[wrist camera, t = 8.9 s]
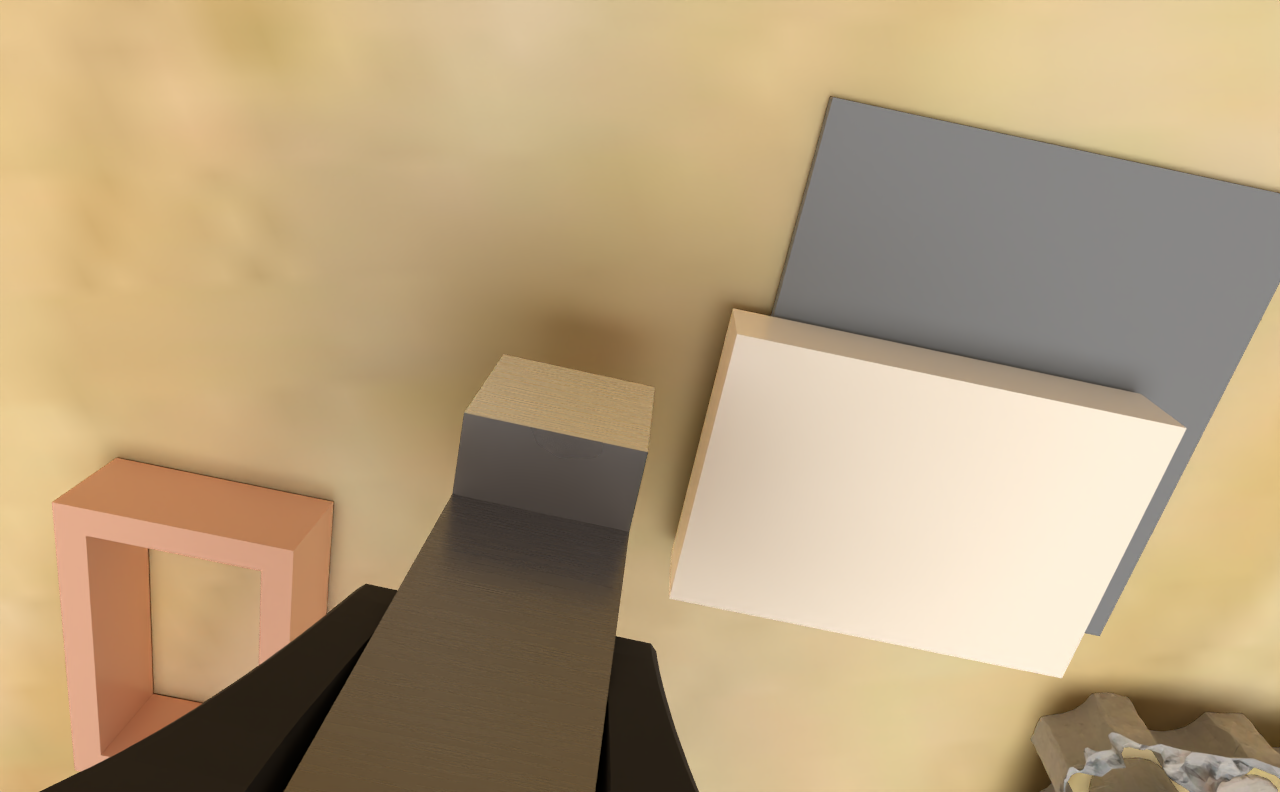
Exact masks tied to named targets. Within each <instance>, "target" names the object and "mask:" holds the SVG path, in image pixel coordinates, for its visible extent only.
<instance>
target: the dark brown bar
mask: <svg viewBox="0 0 1280 792" xmlns="http://www.w3.org/2000/svg"><path fill="white" fill-rule="evenodd" d="M654 392H655V387H653V386H648V385H643V384H639V383H634V382H630V381H625V380H620V379H616V378H611V377H606V376H602V375H597V374H593V373H588V372H583V371H579V370H574V369H570V368H565V367H560V366H556V365H551V364H547V363H542V362H537V361H533V360H528V359H524V358H519V357H514V356H510V355H505V354H503V355H502V357H501V358H500V360H499V361H498V363H497V364H496V366H495V367H494V369H493V370H492V372H491V373H490V375H489V376H488V378H487V379H486V381H485V382H484V384H483V385H482V387H481V388H480V390H479V391H478V393H477V394H476V396H475V397H474V399H473V400H472V402H471V403H470V405H469V406H468V408H467V409H466V411H465V412H464V417H463V424H462V431H461V438H460V445H459V452H458V459H457V466H456V473H455V480H454V487H453V494H452V496H451V498H450V499H449V501H448V503H447V505H446V506H445V508H444V510H443V512H442V514H441V515H440V517H439V519H438V521H437V522H436V524H435V526H434V528H433V529H432V531H431V533H430V535H429V536H428V538H427V540H426V542H425V544H424V545H423V547H422V549H421V551H420V552H419V554H418V556H417V558H416V559H415V561H414V563H413V565H412V566H411V568H410V570H409V572H408V574H407V575H406V577H405V579H404V581H403V582H402V584H401V586H400V588H399V589H398V591H397V593H396V595H395V596H394V598H393V600H392V602H391V604H390V605H389V607H388V609H387V611H386V612H385V614H384V616H383V618H382V619H381V621H380V623H379V625H378V626H377V628H376V630H375V632H374V634H373V635H372V637H371V639H370V641H369V642H368V644H367V646H366V648H365V649H364V651H363V653H362V655H361V656H360V658H359V660H358V662H357V664H356V665H355V667H354V669H353V671H352V672H351V674H350V676H349V678H348V679H347V681H346V683H345V685H344V686H343V688H342V690H341V692H340V694H339V695H338V697H337V699H336V701H335V702H334V704H333V706H332V708H331V709H330V711H329V713H328V715H327V716H326V718H325V720H324V722H323V724H322V725H321V727H320V729H319V731H318V732H317V734H316V736H315V738H314V739H313V741H312V743H311V745H310V746H309V748H308V750H307V752H306V754H305V755H304V757H303V759H302V761H301V762H300V764H299V766H298V768H297V769H296V771H295V773H294V775H293V776H292V778H291V780H290V782H289V784H288V785H287V787H286V789H285V791H284V792H595V788H596V781H597V773H598V765H599V758H600V750H601V743H602V735H603V727H604V720H605V712H606V704H607V697H608V689H609V682H610V674H611V666H612V659H613V651H614V644H615V636H616V628H617V621H618V613H619V605H620V598H621V590H622V583H623V575H624V567H625V560H626V552H627V544H628V537H629V530H630V526H631V522H632V518H633V513H634V509H635V505H636V501H637V497H638V492H639V488H640V484H641V480H642V475H643V471H644V467H645V463H646V458H647V454H648V448H649V438H650V429H651V420H652V411H653V402H654Z"/></svg>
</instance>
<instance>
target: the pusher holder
mask: <svg viewBox="0 0 1280 792" xmlns="http://www.w3.org/2000/svg"><path fill="white" fill-rule="evenodd" d="M52 508H53V520H54V532H55V543H56V555H57V567H58V578H59V590H60V602H61V613H62V625H63V637H64V649H65V660H66V672H67V684H68V695H69V707H70V719H71V730H72V742H73V754H74V765H75V770H76V771H83V770H85V769H87V768H90V767H92V766H94V765H96V764H98V763H100V762H101V761H103V760H105V759H107V758H109V757H111V756H113V755H115V754H117V753H119V752H121V751H123V750H125V749H126V748H128V747H130V746H132V745H134V744H135V743H137V742H139V741H141V740H142V739H144V738H146V737H148V736H150V735H151V734H153V733H155V732H157V731H158V730H160V729H162V728H163V727H165V726H167V725H169V724H170V723H172V722H174V721H175V720H177V719H178V718H180V717H182V716H183V715H185V714H187V713H188V712H190V711H192V710H193V709H195V708H196V707H198V706H199V705H201V704H202V703H198V702H193V701H187V700H182V699H177V698H172V697H167V696H162V695H157V694H153V675H152V647H151V619H150V590H149V562H148V548H149V549H154V550H159V551H164V552H169V553H174V554H179V555H184V556H189V557H194V558H199V559H204V560H209V561H214V562H219V563H224V564H229V565H234V566H239V567H244V568H249V569H254V570H259V571H261V601H260V638H259V665H260V664H262V663H263V662H264V661H266V660H267V659H268V658H270V657H271V656H272V655H274V654H275V653H276V652H278V651H279V650H281V649H282V648H283V647H285V646H286V645H287V644H289V643H290V642H291V641H293V640H294V639H295V638H297V637H298V636H299V635H301V634H302V633H303V632H304V631H306V630H307V629H308V628H310V627H311V626H312V625H313V624H315V623H316V622H317V621H319V620H320V619H321V618H322V617H324V616H325V615H326V611H327V595H328V580H329V564H330V549H331V533H332V518H333V502H332V501H327V500H322V499H317V498H312V497H307V496H302V495H297V494H292V493H287V492H282V491H277V490H273V489H268V488H263V487H258V486H253V485H248V484H243V483H238V482H233V481H228V480H223V479H218V478H214V477H209V476H204V475H199V474H194V473H189V472H184V471H179V470H174V469H169V468H164V467H159V466H155V465H150V464H145V463H140V462H135V461H130V460H125V459H120V458H115V459H114V460H112V461H111V462H110V463H108V464H107V465H105V466H104V467H102V468H101V469H99V470H98V471H97V472H95V473H94V474H92V475H91V476H89V477H88V478H86V479H85V480H83V481H82V482H81V483H79V484H78V485H76V486H75V487H73V488H72V489H70V490H69V491H68V492H66V493H65V494H63V495H62V496H60V497H59V498H57V499H56V500H55V501H53V502H52Z"/></svg>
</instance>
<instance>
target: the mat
mask: <svg viewBox="0 0 1280 792" xmlns="http://www.w3.org/2000/svg"><path fill="white" fill-rule="evenodd" d="M1279 283H1280V193H1276V192H1271V191H1267V190H1262V189H1257V188H1253V187H1248V186H1243V185H1239V184H1234V183H1230V182H1225V181H1220V180H1216V179H1211V178H1206V177H1202V176H1197V175H1192V174H1188V173H1183V172H1178V171H1174V170H1169V169H1165V168H1160V167H1155V166H1151V165H1146V164H1141V163H1137V162H1132V161H1127V160H1123V159H1118V158H1113V157H1109V156H1104V155H1100V154H1095V153H1090V152H1086V151H1081V150H1076V149H1072V148H1067V147H1062V146H1058V145H1053V144H1048V143H1044V142H1039V141H1035V140H1030V139H1025V138H1021V137H1016V136H1011V135H1007V134H1002V133H997V132H993V131H988V130H983V129H979V128H974V127H970V126H965V125H960V124H956V123H951V122H946V121H942V120H937V119H932V118H928V117H923V116H919V115H914V114H909V113H905V112H900V111H895V110H891V109H886V108H881V107H877V106H872V105H867V104H863V103H858V102H854V101H849V100H844V99H840V98H835V97H830V99H829V103H828V107H827V111H826V114H825V118H824V122H823V125H822V129H821V133H820V136H819V140H818V144H817V147H816V151H815V155H814V159H813V162H812V166H811V170H810V173H809V177H808V181H807V184H806V188H805V192H804V195H803V199H802V203H801V207H800V210H799V214H798V218H797V221H796V225H795V229H794V232H793V236H792V240H791V244H790V247H789V251H788V255H787V258H786V262H785V266H784V269H783V273H782V277H781V280H780V284H779V288H778V292H777V295H776V299H775V303H774V306H773V310H772V314H771V316H772V317H777V318H782V319H786V320H791V321H796V322H801V323H805V324H810V325H815V326H820V327H825V328H829V329H834V330H839V331H844V332H848V333H853V334H858V335H863V336H867V337H872V338H877V339H882V340H886V341H891V342H896V343H901V344H905V345H910V346H915V347H920V348H925V349H929V350H934V351H939V352H944V353H948V354H953V355H958V356H963V357H967V358H972V359H977V360H982V361H986V362H991V363H996V364H1001V365H1006V366H1010V367H1015V368H1020V369H1025V370H1029V371H1034V372H1039V373H1044V374H1048V375H1053V376H1058V377H1063V378H1067V379H1072V380H1077V381H1082V382H1086V383H1091V384H1096V385H1101V386H1106V387H1110V388H1115V389H1120V390H1125V391H1129V392H1134V393H1139V394H1142V395H1143V396H1144V397H1146V398H1147V399H1148V400H1150V401H1151V402H1152V403H1154V404H1155V405H1156V406H1158V407H1159V408H1160V409H1162V410H1163V411H1164V412H1166V413H1167V414H1168V415H1170V416H1171V417H1172V418H1174V419H1175V420H1176V421H1178V422H1179V423H1180V424H1182V425H1183V426H1184V427H1186V428H1187V429H1186V431H1185V433H1184V435H1183V437H1182V439H1181V441H1180V443H1179V445H1178V447H1177V449H1176V451H1175V453H1174V455H1173V457H1172V459H1171V461H1170V463H1169V465H1168V467H1167V469H1166V471H1165V473H1164V475H1163V477H1162V479H1161V481H1160V483H1159V485H1158V487H1157V489H1156V491H1155V493H1154V495H1153V497H1152V499H1151V501H1150V503H1149V505H1148V507H1147V509H1146V511H1145V513H1144V515H1143V517H1142V519H1141V521H1140V523H1139V525H1138V527H1137V529H1136V531H1135V533H1134V535H1133V537H1132V539H1131V541H1130V543H1129V545H1128V547H1127V549H1126V551H1125V553H1124V555H1123V557H1122V559H1121V561H1120V563H1119V565H1118V567H1117V569H1116V571H1115V573H1114V575H1113V577H1112V579H1111V581H1110V583H1109V585H1108V587H1107V589H1106V591H1105V593H1104V595H1103V597H1102V599H1101V601H1100V603H1099V605H1098V607H1097V609H1096V611H1095V613H1094V615H1093V617H1092V619H1091V621H1090V623H1089V625H1088V627H1087V629H1086V631H1085V633H1087V634H1092V635H1097V636H1100V635H1101V633H1102V631H1103V629H1104V627H1105V625H1106V623H1107V621H1108V619H1109V617H1110V615H1111V613H1112V611H1113V609H1114V607H1115V605H1116V603H1117V601H1118V599H1119V597H1120V595H1121V593H1122V591H1123V589H1124V587H1125V585H1126V583H1127V582H1128V580H1129V578H1130V576H1131V574H1132V572H1133V570H1134V568H1135V566H1136V564H1137V562H1138V560H1139V558H1140V556H1141V554H1142V552H1143V550H1144V548H1145V546H1146V544H1147V542H1148V540H1149V538H1150V536H1151V534H1152V532H1153V530H1154V528H1155V527H1156V525H1157V523H1158V521H1159V519H1160V517H1161V515H1162V513H1163V511H1164V509H1165V507H1166V505H1167V503H1168V501H1169V499H1170V497H1171V495H1172V493H1173V491H1174V489H1175V487H1176V485H1177V483H1178V481H1179V479H1180V477H1181V475H1182V473H1183V472H1184V470H1185V468H1186V466H1187V464H1188V462H1189V460H1190V458H1191V456H1192V454H1193V452H1194V450H1195V448H1196V446H1197V444H1198V442H1199V440H1200V438H1201V436H1202V434H1203V432H1204V430H1205V428H1206V426H1207V424H1208V422H1209V420H1210V418H1211V417H1212V415H1213V413H1214V411H1215V409H1216V407H1217V405H1218V403H1219V401H1220V399H1221V397H1222V395H1223V393H1224V391H1225V389H1226V387H1227V385H1228V383H1229V381H1230V379H1231V377H1232V375H1233V373H1234V371H1235V369H1236V367H1237V365H1238V363H1239V362H1240V360H1241V358H1242V356H1243V354H1244V352H1245V350H1246V348H1247V346H1248V344H1249V342H1250V340H1251V338H1252V336H1253V334H1254V332H1255V330H1256V328H1257V326H1258V324H1259V322H1260V320H1261V318H1262V316H1263V314H1264V312H1265V310H1266V308H1267V307H1268V305H1269V303H1270V301H1271V299H1272V297H1273V295H1274V293H1275V291H1276V289H1277V287H1278V285H1279Z"/></svg>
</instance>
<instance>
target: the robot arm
mask: <svg viewBox="0 0 1280 792" xmlns="http://www.w3.org/2000/svg"><path fill="white" fill-rule="evenodd" d="M396 593H397V590H393V589H388V588H383V587H378V586H374V585H369V584H365V585H363V586H362V587H360V588H358V589H357V590H356V591H354V592H353V593H352V594H351V595H349V596H348V597H347V598H346V599H345V600H343V601H342V602H341V603H340V604H338V605H337V606H336V607H335V608H333V609H332V610H331V611H330V612H329V613H327V614H326V615H325V616H324V617H322V618H321V619H320V620H319V621H317V622H316V623H315V624H313V625H312V626H311V627H310V628H308V629H307V630H306V631H304V632H303V633H302V634H301V635H299V636H298V637H297V638H295V639H294V640H293V641H291V642H290V643H289V644H287V645H286V646H285V647H283V648H282V649H281V650H279V651H278V652H276V653H275V654H274V655H272V656H271V657H270V658H268V659H267V660H266V661H264V662H263V663H262V664H260V665H259V666H257V667H256V668H255V669H253V670H252V671H250V672H249V673H248V674H246V675H245V676H243V677H242V678H240V679H239V680H237V681H236V682H234V683H233V684H231V685H230V686H228V687H227V688H225V689H224V690H222V691H221V692H219V693H218V694H216V695H215V696H213V697H212V698H210V699H209V700H207V701H206V702H204V703H202V704H201V705H199V706H198V707H196V708H195V709H193V710H192V711H190V712H188V713H187V714H185V715H183V716H182V717H180V718H178V719H177V720H175V721H174V722H172V723H170V724H169V725H167V726H165V727H163V728H162V729H160V730H158V731H157V732H155V733H153V734H151V735H150V736H148V737H146V738H144V739H142V740H141V741H139V742H137V743H135V744H134V745H132V746H130V747H128V748H126V749H125V750H123V751H121V752H119V753H117V754H115V755H113V756H111V757H109V758H107V759H105V760H103V761H101V762H100V763H98V764H96V765H94V766H92V767H90V768H87V769H85V770H83V771H81V772H79V773H77V774H75V775H73V776H71V777H69V778H67V779H65V780H63V781H61V782H59V783H57V784H54V785H52V786H50V787H48V788H46V789H44V790H42V791H40V792H284V791H285V789H286V787H287V785H288V784H289V782H290V780H291V778H292V776H293V775H294V773H295V771H296V769H297V768H298V766H299V764H300V762H301V761H302V759H303V757H304V755H305V754H306V752H307V750H308V748H309V746H310V745H311V743H312V741H313V739H314V738H315V736H316V734H317V732H318V731H319V729H320V727H321V725H322V724H323V722H324V720H325V718H326V716H327V715H328V713H329V711H330V709H331V708H332V706H333V704H334V702H335V701H336V699H337V697H338V695H339V694H340V692H341V690H342V688H343V686H344V685H345V683H346V681H347V679H348V678H349V676H350V674H351V672H352V671H353V669H354V667H355V665H356V664H357V662H358V660H359V658H360V656H361V655H362V653H363V651H364V649H365V648H366V646H367V644H368V642H369V641H370V639H371V637H372V635H373V634H374V632H375V630H376V628H377V626H378V625H379V623H380V621H381V619H382V618H383V616H384V614H385V612H386V611H387V609H388V607H389V605H390V604H391V602H392V600H393V598H394V596H395V595H396ZM595 792H699V791H698V788H697V786H696V784H695V781H694V778H693V776H692V773H691V771H690V768H689V766H688V763H687V760H686V757H685V754H684V752H683V749H682V746H681V743H680V740H679V738H678V735H677V732H676V729H675V726H674V723H673V720H672V716H671V713H670V710H669V706H668V703H667V699H666V696H665V692H664V688H663V684H662V680H661V676H660V671H659V666H658V661H657V654H656V651H655V649H654V648H653V646H652V645H651V644H650V643H645V642H640V641H636V640H631V639H626V638H621V637H617V636H615V644H614V651H613V659H612V666H611V674H610V682H609V689H608V697H607V704H606V712H605V720H604V727H603V735H602V743H601V750H600V758H599V765H598V773H597V781H596V788H595Z"/></svg>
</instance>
